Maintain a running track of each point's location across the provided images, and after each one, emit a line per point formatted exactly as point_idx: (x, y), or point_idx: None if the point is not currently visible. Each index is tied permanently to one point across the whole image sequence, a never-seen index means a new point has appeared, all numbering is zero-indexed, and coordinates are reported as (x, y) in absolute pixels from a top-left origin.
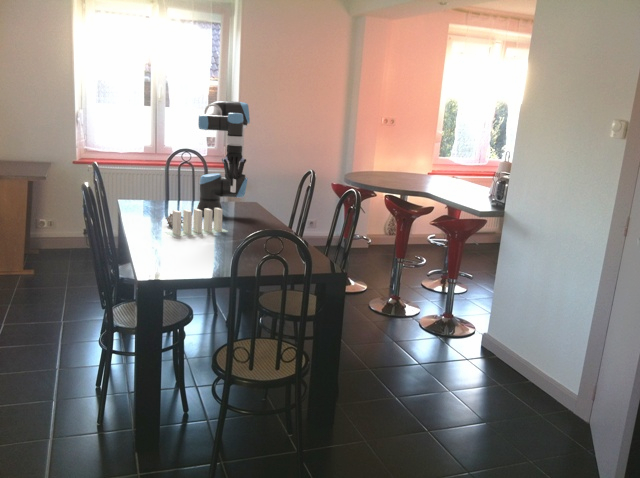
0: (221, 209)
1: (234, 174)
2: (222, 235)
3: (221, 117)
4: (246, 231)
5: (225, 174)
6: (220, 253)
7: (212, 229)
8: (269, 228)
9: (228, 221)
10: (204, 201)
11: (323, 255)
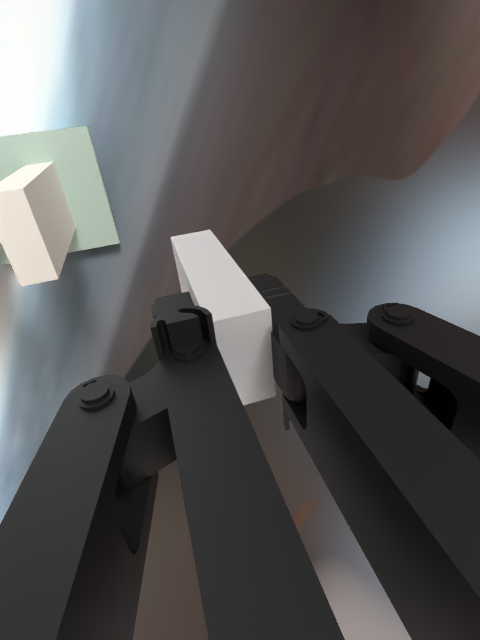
0: (48, 277)
1: (314, 409)
2: (69, 278)
3: None
4: (232, 209)
5: (36, 455)
6: None
7: (16, 167)
8: (379, 163)
9: None
10: None
11: (309, 515)
